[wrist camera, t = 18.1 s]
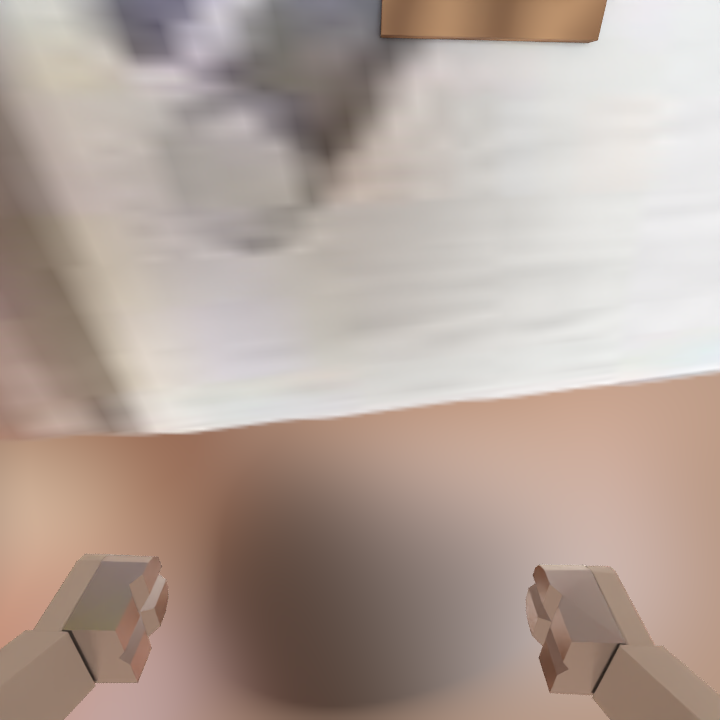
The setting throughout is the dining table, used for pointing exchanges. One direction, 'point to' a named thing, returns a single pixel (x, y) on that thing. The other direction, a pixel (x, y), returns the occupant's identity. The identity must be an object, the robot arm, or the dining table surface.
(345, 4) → the dining table surface
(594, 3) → the collar plate
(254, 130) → the dining table surface
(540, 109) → the dining table surface
